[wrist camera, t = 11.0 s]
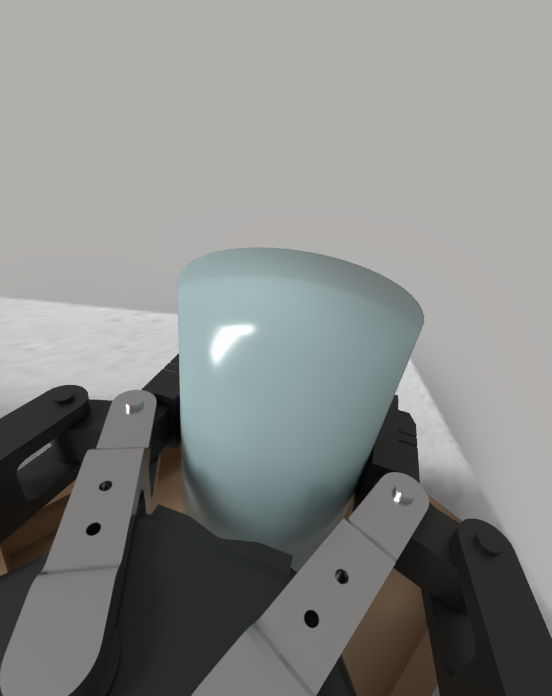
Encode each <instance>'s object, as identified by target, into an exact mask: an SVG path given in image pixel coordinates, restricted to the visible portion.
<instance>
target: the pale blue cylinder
mask: <svg viewBox="0 0 552 696" xmlns="http://www.w3.org/2000/svg"><path fill="white" fill-rule="evenodd" d="M423 324H424V314H423V311H422V309H421V307H420V305H419V303H418V302H417V301H416V300H415V299H414V297H413V296H412V295H411V294H409V293H408V292H407V291H406V290H405V289H404V288H402V287H401V286H399V285H398V284H396V283H395V282H393V281H391V280H390V279H388V278H386V277H384V276H382V275H380V274H378V273H376V272H374V271H372V270H369V269H367V268H364V267H362V266H359V265H356V264H353V263H350V262H347V261H344V260H341V259H337V258H333V257H329V256H325V255H321V254H316V253H310V252H304V251H298V250H290V249H280V248H279V249H278V248H239V249H230V250H224V251H218V252H214V253H210V254H207V255H205V256H202V257H199V258H197V259H195V260H193V261H192V262H190V263H189V264H187V265H186V266H185V267H184V268H183V269H182V271H181V273H180V275H179V277H178V326H179V373H180V420H181V467H182V513H183V514H186V515H188V516H190V517H192V518H193V519H194V520H196V521H197V522H198V523H200V524H201V525H202V526H204V527H205V528H206V529H208V530H209V531H210V532H211V533H213V534H214V535H215V536H217V537H219V538H223V539H232V540H242V541H251V542H259V543H262V544H264V545H267V546H269V547H272V548H275V549H277V550H280V551H282V552H285V553H288V554H290V555H293V558H292V562H291V566H290V567H291V568H292V569H294V570H295V571H296V572H299V571H300V569H301V568H302V567H303V566H304V565H305V563H306V562H307V561H308V560H309V559H310V557H311V556H312V555H313V554H314V553H315V551H316V550H317V549H318V548H319V547H320V545H321V544H322V543H323V542H324V541H325V539H326V538H327V537H328V536H329V535H330V533H331V532H332V531H333V530H334V529H335V527H336V526H337V525H338V524H339V523H340V522H341V521H342V520H343V519H344V516H345V514H346V511H347V509H348V507H349V504H350V502H351V499H352V497H353V494H354V492H355V490H356V487H357V485H358V482H359V480H360V477H361V475H362V473H363V470H364V468H365V465H366V463H367V460H368V458H369V456H370V453H371V451H372V448H373V446H374V443H375V441H376V439H377V436H378V434H379V431H380V429H381V426H382V424H383V422H384V419H385V417H386V414H387V412H388V409H389V407H390V405H391V402H392V400H393V397H394V395H395V392H396V390H397V388H398V385H399V383H400V380H401V378H402V375H403V373H404V371H405V368H406V366H407V363H408V361H409V358H410V356H411V353H412V351H413V349H414V346H415V344H416V341H417V339H418V336H419V334H420V331H421V329H422V326H423Z"/></svg>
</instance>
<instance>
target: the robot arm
mask: <svg viewBox="0 0 552 696" xmlns="http://www.w3.org/2000/svg"><path fill="white" fill-rule="evenodd" d="M416 436H417V434H416V424H415V422H414V421H413V419H412V417H411V415H410V414H409V413H407V412H404V411H400V410H398V395H394V397H393V400H392V402H391V405H390V407H389V409H388V412H387V414H386V417H385V419H384V422H383V424H382V426H381V429H380V431H379V434H378V436H377V439H376V441H375V443H374V446H373V448H372V451H371V453H370V456H369V458H368V460H367V463H366V465H365V468H364V470H363V473H362V475H361V477H360V480H359V482H358V485H357V487H356V490H355V492H354V500H353V508H352V512H353V513H352V515H351V516H350V517H349V518H348V519H347V518H346V517H345V518H344V519H343V520H342V521H341V522H340V523H339V524H338V525H337V526H336V527H335V529H334V530H333V531H332V532H331V533H330V535H329V536H328V537H327V538H326V539H325V541H324V542H323V543H322V544H321V545H320V547H319V548H318V549H317V550H316V551H315V553H314V554H313V555H312V556H311V557H310V559H309V560H308V561H307V562H306V563H305V565H304V566H303V567H302V568H301V569H300V571H299V572H296V571H295V570H294V569H292V568H291V567H290V566H291V562H292V558H293V555H290V554H288V553H285V552H282V551H280V550H277V549H275V548H272V547H269V546H267V545H264V544H262V543H259V542H251V541H242V540H232V539H223V538H219V537H217V536H215V535H214V534H213V533H211V532H210V531H209V530H208V529H206V528H205V527H204V526H202V525H201V524H200V523H198V522H197V521H196V520H194V519H193V518H192V517H190V516H188V515H186V514H183V513H181V512H178V511H175V510H173V509H170V508H167V507H165V506H162V505H160V504H158V505H157V506H156V508H155V510H154V500H155V493H156V486H157V479H158V472H159V465H160V453H161V452H162V450H163V449H164V448H165V446H167V447H170V448H173V449H177V447H178V446H179V445H180V443H181V420H180V373H179V354H178V355H177V356H176V357H175V358H174V359H173V360H172V361H171V362H170V363H168V364H167V365H166V366H165V367H164V369H162V370H161V371H160V372H159V373H158V374H157V375H156V376H155V377H154V378H153V379H152V380H151V381H150V382H149V383H148V384H147V385H146V386H145V387H144V388H143V389H142V390H131V391H127V392H124V393H122V394H120V395H118V396H117V397H116V398H115V399H114V400H113V401H108V400H91V399H89V397H88V392H87V391H86V390H85V389H84V388H83V387H80V386H77V385H64V386H59V387H56V388H53V389H51V390H49V391H47V392H45V393H44V394H42V395H40V396H39V397H37V398H35V399H33V400H32V401H30V402H28V403H27V404H25V405H23V406H21V407H20V408H18V409H16V410H14V411H13V412H11V413H9V414H8V415H6V416H4V417H2V418H1V419H0V544H1V543H2V542H3V541H4V540H5V539H7V538H8V537H9V536H10V535H11V534H12V533H14V532H15V531H16V530H17V529H18V528H19V527H21V526H22V525H23V524H24V523H25V522H26V521H28V520H29V519H30V518H31V517H32V516H34V515H35V514H36V513H37V512H38V511H39V510H41V509H42V508H43V507H44V506H45V505H46V504H48V503H49V502H50V501H51V500H52V499H53V498H55V497H56V496H57V495H58V494H59V493H60V492H62V491H63V490H64V489H65V488H66V487H67V486H69V485H70V484H71V483H72V482H73V481H75V480H76V482H75V485H74V487H73V490H72V493H71V495H70V498H69V501H68V504H67V506H66V509H65V512H64V515H63V517H62V520H61V523H60V526H59V528H58V531H57V534H56V536H55V539H54V542H53V545H52V547H51V550H50V552H48V553H46V554H44V555H42V556H40V557H37V558H35V559H33V560H31V561H29V562H27V563H25V564H23V565H21V566H19V567H17V568H15V569H13V570H11V571H9V572H7V573H5V574H3V575H1V576H0V696H357V694H356V691H355V689H354V686H353V683H352V681H351V678H350V675H349V673H348V670H347V668H346V665H345V662H344V660H343V657H342V655H341V653H342V652H343V650H344V648H345V647H346V645H347V643H348V642H349V640H350V638H351V637H352V635H353V633H354V632H355V630H356V628H357V627H358V625H359V623H360V622H361V620H362V618H363V617H364V615H365V613H366V612H367V610H368V608H369V607H370V605H371V603H372V602H373V600H374V598H375V597H376V595H377V593H378V592H379V590H380V588H381V587H382V585H383V583H384V582H385V580H386V578H387V577H388V575H389V573H390V572H391V570H392V568H394V569H395V570H397V571H398V572H400V573H401V574H402V575H404V576H405V577H406V578H408V579H409V580H410V581H412V582H413V583H414V584H416V585H417V586H419V587H420V588H421V593H422V599H423V604H424V610H425V615H426V621H427V626H428V632H429V637H430V643H431V649H432V654H433V660H434V665H435V671H436V676H437V682H438V687H439V693H440V696H552V638H551V636H550V634H549V631H548V629H547V627H546V624H545V622H544V619H543V617H542V615H541V612H540V610H539V608H538V605H537V603H536V600H535V598H534V596H533V593H532V591H531V589H530V586H529V584H528V581H527V579H526V577H525V574H524V572H523V570H522V567H521V565H520V562H519V560H518V558H517V555H516V553H515V551H514V549H513V547H512V545H511V543H510V542H509V541H508V539H507V538H506V537H505V536H504V535H503V534H502V533H501V532H500V531H499V530H498V529H496V528H495V527H494V526H492V525H490V524H489V523H487V522H484V521H482V520H479V519H466V520H464V521H462V522H461V523H459V522H457V521H456V520H454V519H452V518H451V517H449V516H447V515H446V514H444V513H443V512H441V511H440V510H438V509H437V508H436V507H435V506H433V505H432V504H431V503H430V502H429V498H428V495H427V493H426V491H425V489H424V488H423V487H422V486H421V484H420V479H419V464H418V449H417V438H416ZM49 442H51V446H52V447H50V448H49V449H47V450H46V451H45V452H43V453H42V454H40V455H39V456H38V457H36V458H35V459H34V460H32V461H31V462H29V463H28V464H27V465H25V466H24V467H22V468H21V469H20V470H18V471H17V469H18V467H19V466H20V464H21V463H22V462H23V461H24V460H25V459H27V458H28V457H29V456H31V455H32V454H34V453H35V452H36V451H38V450H39V449H41V448H42V447H44V446H45V445H46V444H48V443H49ZM153 510H154V511H153Z"/></svg>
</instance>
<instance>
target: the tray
mask: <svg viewBox="0 0 552 696" xmlns="http://www.w3.org/2000/svg"><path fill="white" fill-rule="evenodd" d="M75 482H76V480H75V481H73V482H72V483H71V484H70V485H69V486H67V487H66V488H65V489H64V490H63V491H62V492H60V493H59V494H58V495H57V496H56V497H55V498H53V499H52V500H51V501H50V502H49V503H48V504H46V505H45V506H44V507H43V508H42V509H41V510H39V511H38V512H37V513H36V514H35V515H34V516H32V517H31V518H30V519H29V520H28V521H26V522H25V523H24V524H23V525H22V526H21V527H19V528H18V529H17V530H16V531H15V532H14V533H12V534H11V535H10V536H9V537H8V538H7V539H5V540H4V541H3V542H2V543H1V544H0V576H1V575H3V574H5V573H7V572H9V571H11V570H13V569H15V568H17V567H19V566H21V565H23V564H25V563H27V562H29V561H31V560H33V559H35V558H37V557H40V556H42V555H44V554H46V553H48V552H50V550H51V547H52V545H53V542H54V539H55V536H56V534H57V531H58V528H59V526H60V523H61V520H62V517H63V515H64V512H65V509H66V506H67V504H68V501H69V498H70V495H71V493H72V490H73V487H74V485H75ZM428 498H429V502H430V503H431V504H432V505H433V506H435V507H436V508H437V509H438V510H440V511H441V512H443V513H444V514H446V515H447V516H449V517H451V518H452V519H454V520H456V521H457V522H459V523H461V522H462V521H461V520H460V519H458V518H457V517H456V516H454V515H453V514H452V513H451V512H449V511H448V510H447V509H445V508H444V507H443V506H441V505H440V504H439V503H438V502H436V501H435V500H434V499H432V498H431V497H430V496H429V495H428ZM353 500H354V494H353V497H352V499H351V502H350V504H349V507H348V509H347V511H346V514H345V516H344V518H345V517H346V518H347V519H348V518H349V517H350V516H351V515H352V513H353V512H352V508H353ZM158 504H160V505H162V506H165V507H167V508H170V509H173V510H175V511H178V512H181V513H182V467H181V443H180V445H179V446H178V447H177V449H173V448H170V447H167V446H165V448H164V449H163V450H162V452H161V453H160V465H159V472H158V479H157V486H156V493H155V500H154V510H155V508H156V506H157V505H158ZM154 510H153V511H154ZM341 655H342V657H343V660H344V662H345V665H346V668H347V670H348V673H349V675H350V678H351V681H352V683H353V686H354V689H355V691H356V694H357V696H432V694H433V692H434V690H435V688H436V685H437V683H438V682H437V676H436V671H435V665H434V660H433V654H432V649H431V643H430V637H429V632H428V626H427V621H426V615H425V610H424V604H423V599H422V593H421V588H420V587H419V586H417V585H416V584H414V583H413V582H412V581H410V580H409V579H408V578H406V577H405V576H404V575H402V574H401V573H400V572H398V571H397V570H395V569H394V568H392V570H391V572H390V573H389V575H388V577H387V578H386V580H385V582H384V583H383V585H382V587H381V588H380V590H379V592H378V593H377V595H376V597H375V598H374V600H373V602H372V603H371V605H370V607H369V608H368V610H367V612H366V613H365V615H364V617H363V618H362V620H361V622H360V623H359V625H358V627H357V628H356V630H355V632H354V633H353V635H352V637H351V638H350V640H349V642H348V643H347V645H346V647H345V648H344V650H343V652H342V653H341Z"/></svg>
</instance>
